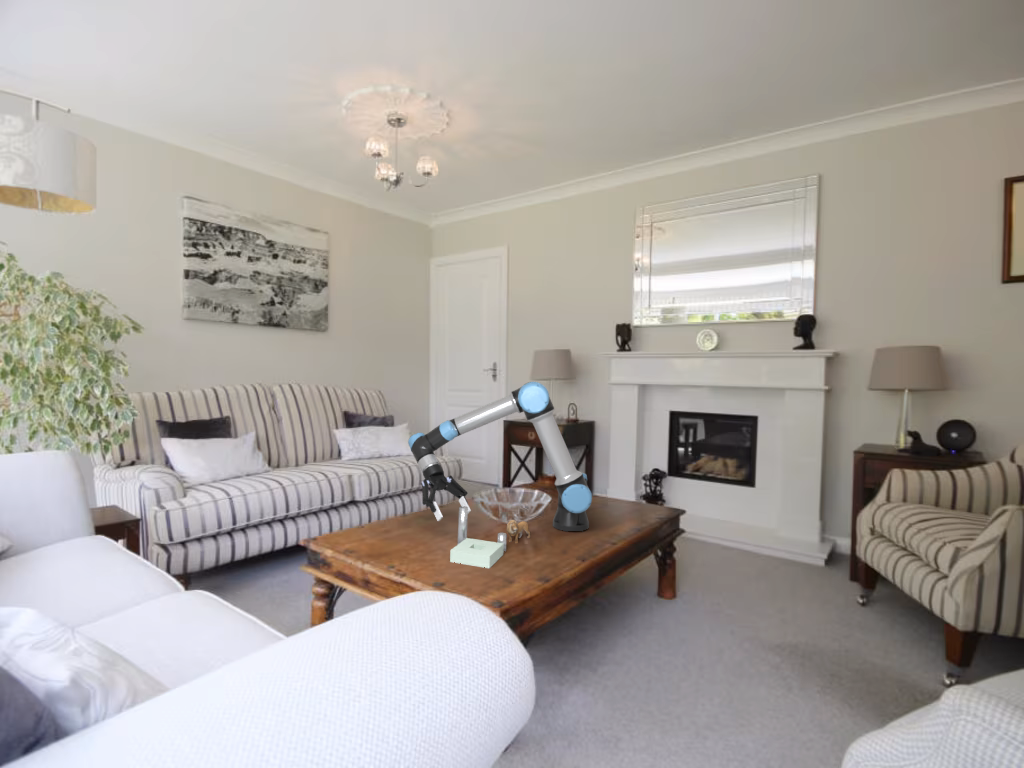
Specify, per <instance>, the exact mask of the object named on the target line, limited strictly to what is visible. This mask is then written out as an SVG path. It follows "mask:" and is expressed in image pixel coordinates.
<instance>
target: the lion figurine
mask: <svg viewBox="0 0 1024 768" xmlns="http://www.w3.org/2000/svg"><path fill="white" fill-rule="evenodd" d="M523 531H525V533H526V535H527V536H526V537H527V538H526V539H531V531H530V530H529V524H528V522H527V521H524V520H522V521H519V522H518V521H516V520H515V519H511V520H509V521H508V523H507V525H506V532H507V534H508V536H509V539H508V541H509V542H508V543H512V540H513V538H512V537H513V536H515V537H514V544H518V543H519V539H520V538H521V537H522V535H523Z"/></svg>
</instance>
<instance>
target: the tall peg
mask: <svg viewBox="0 0 1024 768" xmlns="http://www.w3.org/2000/svg"><path fill="white" fill-rule="evenodd" d="M468 515H469V513H468V507H466V506H461V505H460V506H459V507H458V529H457V545H458V544H459V543H461V542H462V541H463V540H465V539H466V538H468V518H469V517H468Z"/></svg>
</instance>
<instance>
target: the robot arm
mask: <svg viewBox="0 0 1024 768" xmlns="http://www.w3.org/2000/svg"><path fill="white" fill-rule="evenodd" d="M554 412H555V406H554V404H553V402H552V399H551V397H550V393H549V391H548V388H547V387H546V386H545V385H543V383H541V382H538V381H537V382H536V381H529V382H526V383H524V384H523V385H521V387H519V388H517V389H515V390H512V391H510V393H509V395H507V396H504V397H502V398H500V399H497V400H495V401H492V402H491V403H487V404H485V405H483V406H480V407H478V408H476V409H473V410H471V411H469V412H466V413H464V414H462V415H459V416H457V417H454V418H452V419H449V420H445V421H444V422H442V423H441V424H439V425H438V426H436V427H434V428H433V429H432V430H431V431H429V432H427V433H426V434H425V433H423V432H417V433H414V434H412V435H411V436H410V437H409V439H408V440H407V444H408V446H409V448H410V452H411V453H412V455H413V457H414V459H415V461H416V463H417V465H418V467H419V469H420V471H421V473H422V476H423V477H424V479H423V480H422V481H421V483H420V485H421V489H422V490H421V491H422V497H421V498H422V500H421V501H422V504H423V506H426V507H428V508H429V509H430V511H431V513H433V514H434V516H435V518H436V520H437V522H440V521H441V520H442V519H443V518H444V517H443V513H442V512H441V510H440V507H439V505H438V503H437V502H436V501H434V500H435V496H436V492H438V491H443V490H444V491H447V492H448V493H450V494H452V495H453V496H454V497H456V499H457V498H458V503H459V504H460V507H461V506H466V507H468V514H470V513H471V511H472V510H471V508H470V506H469V502H468V500H467V499H466V496H467V495H468V491H466V489H465V488H464V487H462V486H461V485H460V483H458V482H457V481H456V480H455V479H454V477H453V476H452V475H449V476H448V477H446V476H445V472H444V470H443V467H442V465H441V464H440V462H439V459H438V458H437V456H436V453H435V451H438V449H440V448H442V447H443V446H445V445H446V444H448V443H449V442H451V441H453V440H454V439H455V438H456V437H460V436H461V435H464V434H466V433H469V432H471V431H474V430H476V429H478V428H480V427H484V426H486V425H488V424H491V423H493V422H495V421H498V420H500V419H503V418H505V417H507V416H509V415H512V414H514V413H519V414H521V413H524V416H525V418H526V420H527V421H528V422H530V423H532V425H533V427H534V429H535V431H536V433H537V436H538V439H539V442H540V443H541V445H542V448H543V450H544V453H545V455H546V457H547V460H548V461H549V464H550V467H551V470H552V471H553V473H554V474H553V475H554V476H555V478H556V479H555V481H554V486H555V487H556V488H555V489H556V490H557V493H558V494H557V495H558V496H557V501H558V502H557V509H556V512H555V513H554V517H553V519H552V527H553V528H554V529H556V530H559V531H562V530H563V531H562V532H568V531H582V532H584V531H583V530H586V529H588V528H590V521H589V519H588V515H587V510H588V509H589V508H590V507H591V505H592V502H593V494H592V491H591V490H590V488H589V486H588V476H587V473H584V472H582V471H579V470H578V469H577V467H576V466H575V463H574V460H573V459H572V456H571V454H570V450H569V449H568V447H567V445H566V442H565V440H564V438H563V436H562V433H561V431H560V428H559V426H558V424H557V421H556V419H555V417H554ZM429 487H431V488H430V489H429ZM429 490H430V491H429ZM429 492H430V493H429ZM588 530H589V529H588ZM586 531H587V530H586Z"/></svg>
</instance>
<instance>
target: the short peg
mask: <svg viewBox="0 0 1024 768" xmlns="http://www.w3.org/2000/svg"><path fill="white" fill-rule="evenodd" d="M507 534H508V533H506V532H497V543H504V548H503V553H505V552H506V551H507V539H508V538H507V537H508V536H507ZM504 551H505V552H504Z"/></svg>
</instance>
